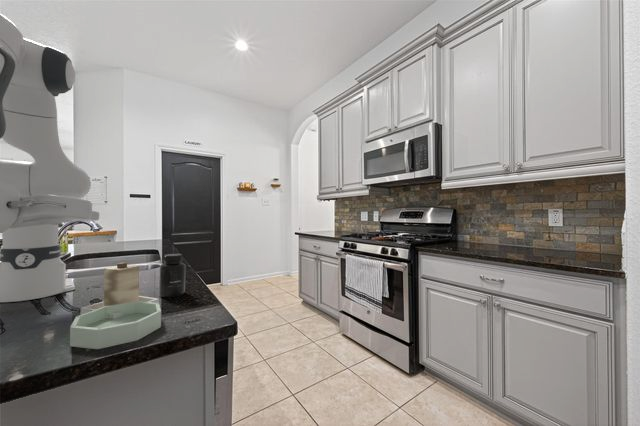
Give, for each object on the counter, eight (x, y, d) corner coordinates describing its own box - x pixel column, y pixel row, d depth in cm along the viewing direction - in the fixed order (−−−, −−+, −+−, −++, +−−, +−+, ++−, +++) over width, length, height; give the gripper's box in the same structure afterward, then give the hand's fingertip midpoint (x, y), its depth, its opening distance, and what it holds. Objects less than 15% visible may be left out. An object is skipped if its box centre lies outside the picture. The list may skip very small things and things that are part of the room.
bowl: (79, 326, 57) (79, 310, 57) (157, 312, 65) (157, 298, 65) (65, 356, 45) (65, 336, 45) (162, 334, 54) (163, 317, 54)
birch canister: (103, 313, 64) (104, 264, 64) (124, 306, 69) (125, 260, 69) (118, 316, 63) (118, 265, 63) (138, 309, 67) (139, 262, 67)
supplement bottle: (173, 299, 75) (174, 257, 75) (153, 297, 77) (153, 256, 77) (190, 291, 82) (190, 253, 82) (171, 290, 83) (171, 252, 83)
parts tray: (80, 316, 62) (80, 307, 62) (128, 301, 73) (128, 294, 73) (113, 323, 59) (113, 314, 59) (158, 306, 69) (158, 298, 69)
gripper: (39, 181, 42) (120, 199, 55) (-56, 194, 45) (42, 208, 58) (34, 220, 40) (118, 229, 54) (-63, 231, 44) (38, 237, 57)
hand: (78, 218), depth 56 cm, fingers open, 8 cm apart
